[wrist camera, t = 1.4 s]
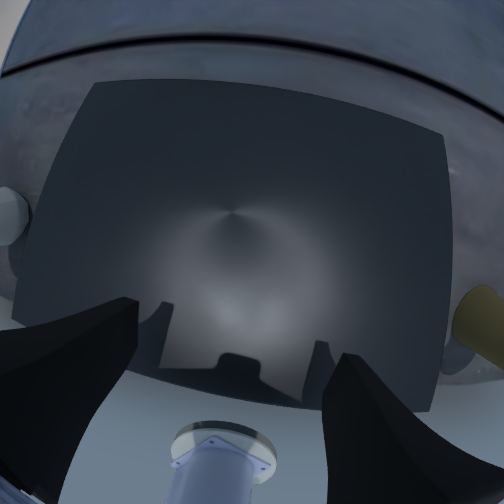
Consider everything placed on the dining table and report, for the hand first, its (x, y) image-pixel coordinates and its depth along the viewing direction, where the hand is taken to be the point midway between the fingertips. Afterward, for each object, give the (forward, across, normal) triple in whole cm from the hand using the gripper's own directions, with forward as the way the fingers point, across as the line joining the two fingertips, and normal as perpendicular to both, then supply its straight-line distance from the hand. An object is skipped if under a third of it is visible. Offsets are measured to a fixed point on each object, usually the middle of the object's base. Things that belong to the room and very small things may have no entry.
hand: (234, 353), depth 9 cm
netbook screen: (+7, +2, -3) cm, 8 cm away
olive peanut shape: (+12, -22, +1) cm, 25 cm away
